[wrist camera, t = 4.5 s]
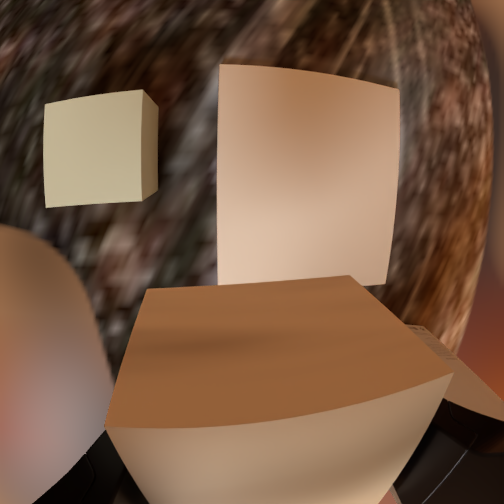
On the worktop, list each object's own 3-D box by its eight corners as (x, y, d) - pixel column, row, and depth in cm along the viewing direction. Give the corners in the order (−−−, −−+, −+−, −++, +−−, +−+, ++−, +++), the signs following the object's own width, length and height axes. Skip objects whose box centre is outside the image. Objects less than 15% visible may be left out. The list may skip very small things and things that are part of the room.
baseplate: (381, 281, 22) (385, 283, 21) (217, 290, 20) (218, 294, 19) (394, 90, 17) (399, 89, 17) (219, 67, 16) (219, 64, 15)
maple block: (327, 410, 11) (375, 507, 6) (176, 427, 10) (177, 541, 5) (349, 274, 9) (454, 371, 4) (147, 288, 8) (104, 426, 4)
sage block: (158, 189, 17) (141, 200, 13) (82, 194, 17) (45, 207, 12) (158, 107, 16) (142, 89, 11) (82, 115, 15) (45, 104, 11)
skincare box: (371, 318, 22) (501, 458, 8) (426, 323, 24) (542, 429, 9) (333, 397, 25) (409, 539, 10) (388, 395, 26) (468, 508, 11)
